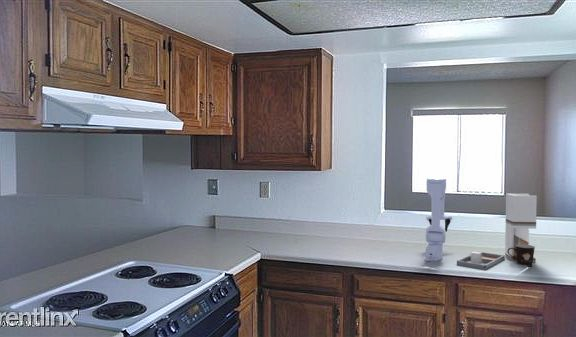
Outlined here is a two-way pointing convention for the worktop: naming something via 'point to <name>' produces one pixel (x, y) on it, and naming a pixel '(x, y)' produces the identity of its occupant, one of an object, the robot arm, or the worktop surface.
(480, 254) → the white rectangular block
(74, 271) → the worktop surface
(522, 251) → the coffee mug
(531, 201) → the coffee maker
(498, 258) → the tray
